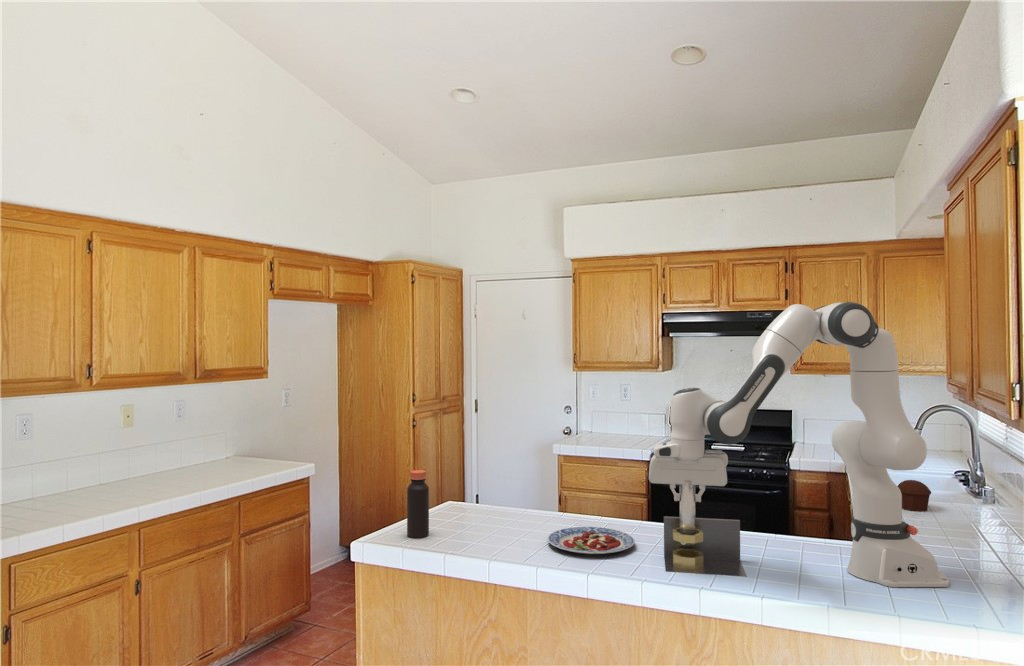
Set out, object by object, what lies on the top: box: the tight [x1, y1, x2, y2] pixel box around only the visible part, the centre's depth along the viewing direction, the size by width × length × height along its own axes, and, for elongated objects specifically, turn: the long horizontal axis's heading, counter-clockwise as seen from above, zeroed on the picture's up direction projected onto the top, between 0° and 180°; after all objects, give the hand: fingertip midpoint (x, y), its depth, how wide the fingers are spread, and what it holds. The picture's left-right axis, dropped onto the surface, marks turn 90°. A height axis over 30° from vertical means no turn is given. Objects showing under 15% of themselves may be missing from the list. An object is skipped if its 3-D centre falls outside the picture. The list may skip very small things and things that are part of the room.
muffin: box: [897, 479, 932, 513], centre depth 238 cm, size 12×11×10 cm
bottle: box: [406, 469, 430, 539], centre depth 207 cm, size 7×7×20 cm
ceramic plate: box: [547, 526, 636, 556], centre depth 196 cm, size 26×26×3 cm
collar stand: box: [663, 515, 748, 578], centre depth 174 cm, size 20×13×12 cm, turn 79°
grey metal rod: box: [679, 480, 696, 545], centre depth 175 cm, size 4×4×17 cm
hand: (687, 501), depth 175 cm, fingers closed on grey metal rod, 4 cm apart
